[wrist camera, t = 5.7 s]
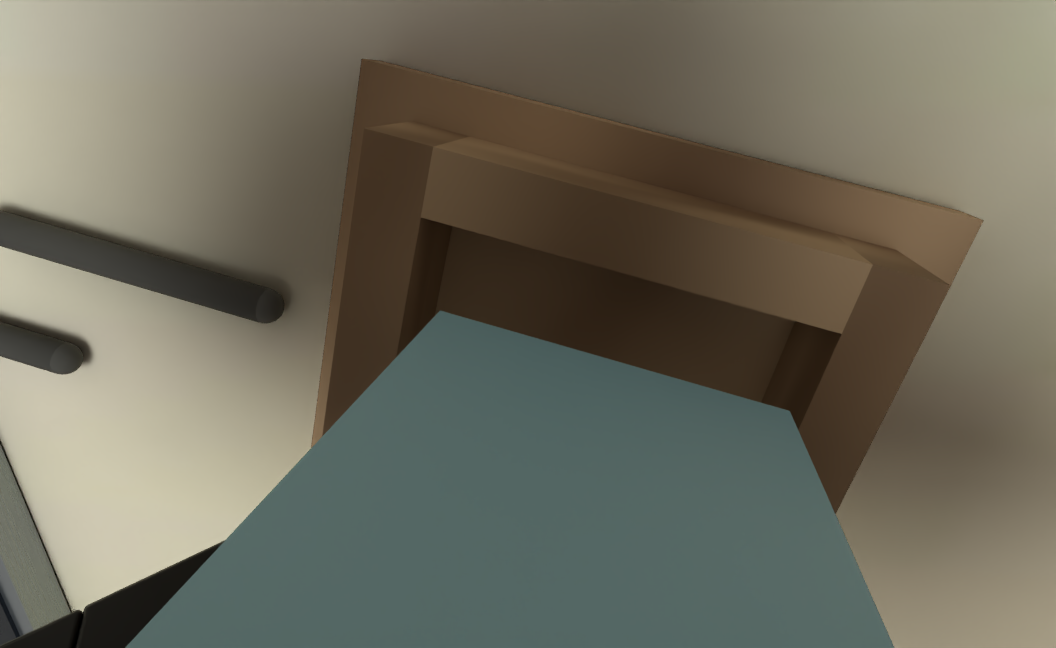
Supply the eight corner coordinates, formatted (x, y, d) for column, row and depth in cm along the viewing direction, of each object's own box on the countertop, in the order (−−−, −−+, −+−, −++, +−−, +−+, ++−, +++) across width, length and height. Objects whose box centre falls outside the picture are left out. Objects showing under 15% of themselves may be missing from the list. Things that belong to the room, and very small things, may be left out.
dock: (960, 211, 11) (1061, 250, 8) (744, 652, 14) (766, 778, 12) (380, 61, 11) (302, 53, 9) (316, 517, 15) (247, 606, 12)
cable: (292, 289, 13) (273, 299, 13) (277, 427, 14) (260, 443, 14) (-197, 147, 14) (-238, 150, 13) (-172, 289, 15) (-208, 298, 15)
